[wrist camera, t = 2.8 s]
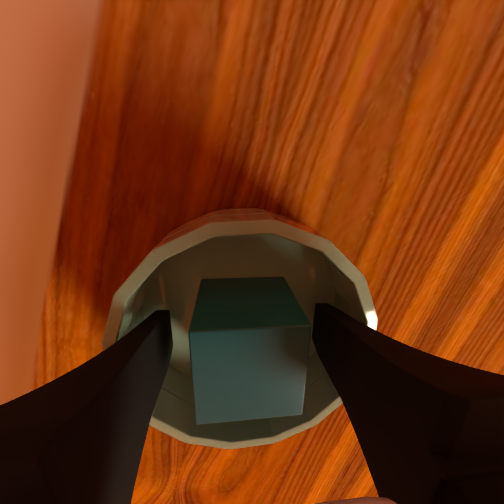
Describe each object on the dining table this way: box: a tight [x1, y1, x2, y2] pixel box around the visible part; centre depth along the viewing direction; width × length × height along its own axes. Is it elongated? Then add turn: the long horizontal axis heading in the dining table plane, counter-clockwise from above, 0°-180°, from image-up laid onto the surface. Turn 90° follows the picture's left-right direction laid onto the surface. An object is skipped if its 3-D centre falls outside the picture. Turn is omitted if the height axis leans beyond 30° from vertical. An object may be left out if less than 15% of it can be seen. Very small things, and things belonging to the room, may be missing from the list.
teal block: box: [188, 277, 312, 424], centre depth 10 cm, size 4×4×4 cm
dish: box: [102, 208, 378, 449], centre depth 11 cm, size 11×11×4 cm
